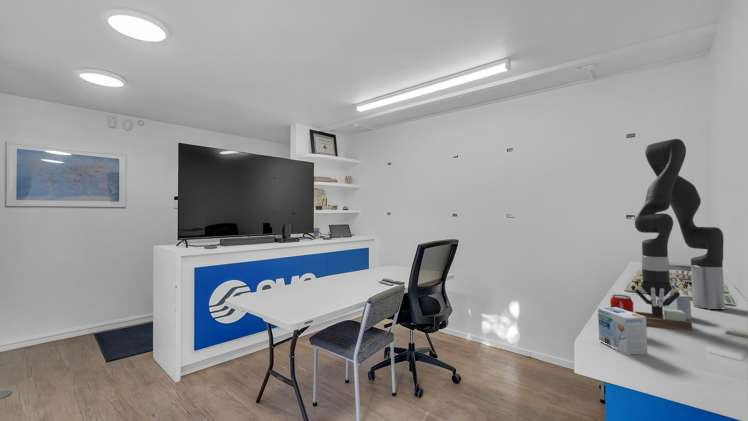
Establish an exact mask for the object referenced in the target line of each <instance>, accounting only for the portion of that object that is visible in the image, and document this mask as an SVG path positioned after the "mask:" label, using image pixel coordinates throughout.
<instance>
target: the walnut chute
mask: <svg viewBox="0 0 748 421" xmlns="http://www.w3.org/2000/svg"><path fill="white" fill-rule="evenodd" d="M634 313H636V314H639V315H642V316H645V317H646V327H658V328H665V329H667V328H668V329H675V330H685V331H693V324H692V322H691V321H686V322H685V321H675V320H665V319H663V315H662V316H661V317H655V316H654V315H653V314H652V312H643V311H634Z"/></svg>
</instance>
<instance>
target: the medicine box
mask: <svg viewBox="0 0 748 421" xmlns="http://www.w3.org/2000/svg"><path fill="white" fill-rule="evenodd" d="M679 293H680V292H679ZM669 296H670V292H669V293H668V294H667V295H666V296H665V297H664V299H663V301H665V300H666V299H667V298H668V297H669ZM691 306H692V305H691V296H689V295H687V294H684V293H680V296H679V297H677V298H676V299H675V300H674V301H673V302H672V303H671V304H670V305H669V306H663V309H672V310H682V311H683V312H684V313H685V314H686V321H687V320H692V307H691Z"/></svg>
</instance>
